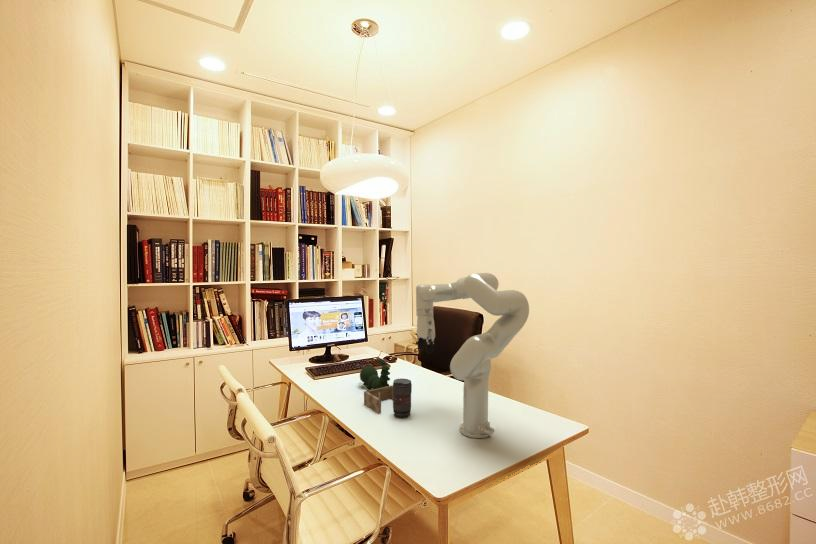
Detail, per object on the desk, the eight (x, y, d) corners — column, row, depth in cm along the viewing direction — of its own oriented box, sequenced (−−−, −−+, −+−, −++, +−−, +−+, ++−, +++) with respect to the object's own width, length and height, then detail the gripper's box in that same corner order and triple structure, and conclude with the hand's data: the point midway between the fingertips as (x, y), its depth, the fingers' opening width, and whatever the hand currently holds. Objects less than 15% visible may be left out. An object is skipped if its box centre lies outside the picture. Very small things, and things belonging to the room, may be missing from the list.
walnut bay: (407, 406, 171) (407, 386, 171) (378, 413, 162) (378, 393, 162) (392, 397, 182) (392, 379, 182) (364, 404, 173) (364, 385, 173)
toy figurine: (393, 397, 187) (368, 380, 207) (395, 360, 185) (370, 346, 205) (377, 401, 181) (353, 383, 201) (379, 363, 179) (354, 349, 199)
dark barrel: (409, 419, 156) (409, 384, 156) (390, 418, 158) (390, 383, 158) (413, 412, 164) (413, 378, 164) (395, 410, 166) (395, 377, 165)
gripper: (441, 313, 159) (441, 354, 159) (424, 310, 175) (425, 346, 175) (425, 315, 156) (425, 355, 156) (409, 311, 172) (410, 348, 172)
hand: (425, 351), depth 165 cm, fingers open, 9 cm apart
